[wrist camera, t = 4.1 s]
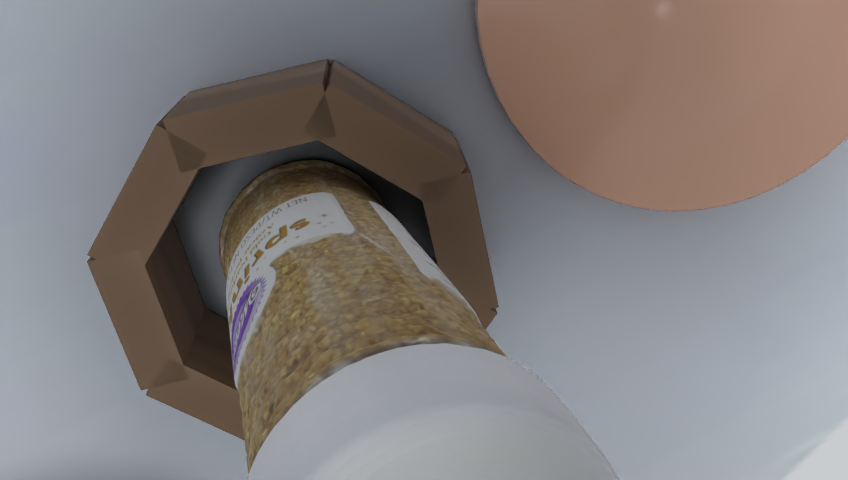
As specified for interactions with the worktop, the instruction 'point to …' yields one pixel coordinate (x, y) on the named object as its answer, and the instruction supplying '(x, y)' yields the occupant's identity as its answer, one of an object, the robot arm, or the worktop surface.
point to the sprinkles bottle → (372, 349)
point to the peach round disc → (671, 92)
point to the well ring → (243, 137)
